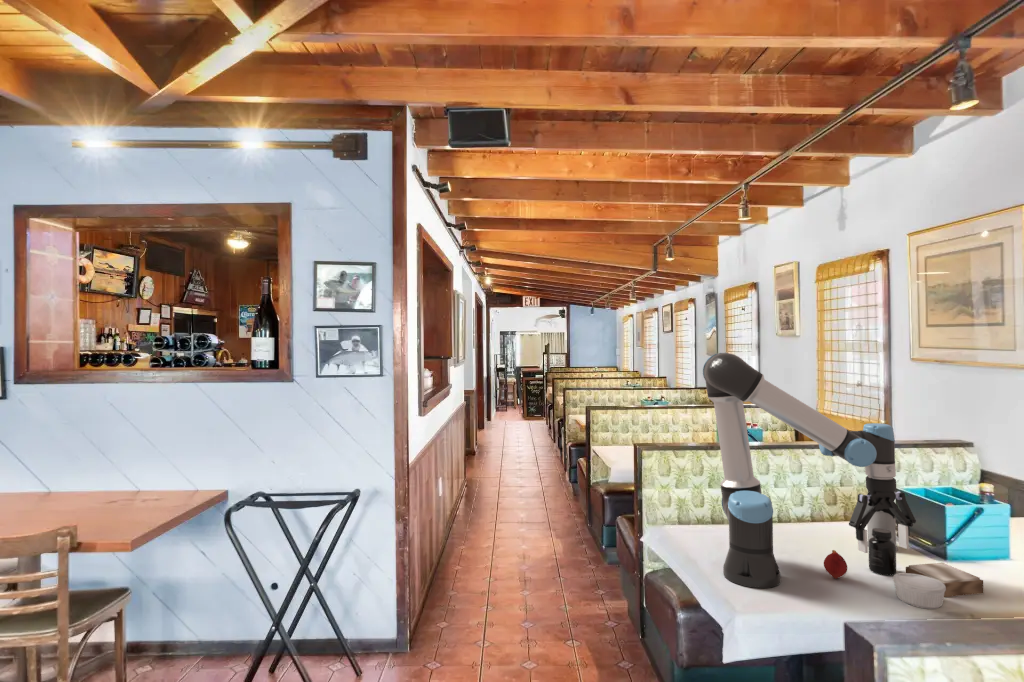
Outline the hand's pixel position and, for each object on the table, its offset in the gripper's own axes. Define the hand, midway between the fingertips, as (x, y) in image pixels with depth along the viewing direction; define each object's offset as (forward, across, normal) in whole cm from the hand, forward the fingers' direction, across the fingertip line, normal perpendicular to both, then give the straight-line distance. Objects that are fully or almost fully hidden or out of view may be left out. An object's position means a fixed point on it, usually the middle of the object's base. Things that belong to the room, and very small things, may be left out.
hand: (883, 549), depth 166 cm
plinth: (+7, +8, -12) cm, 15 cm away
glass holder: (+7, +18, +20) cm, 28 cm away
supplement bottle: (+7, 0, 0) cm, 7 cm away
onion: (+6, -18, -2) cm, 19 cm away
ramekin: (+7, -7, -18) cm, 21 cm away
